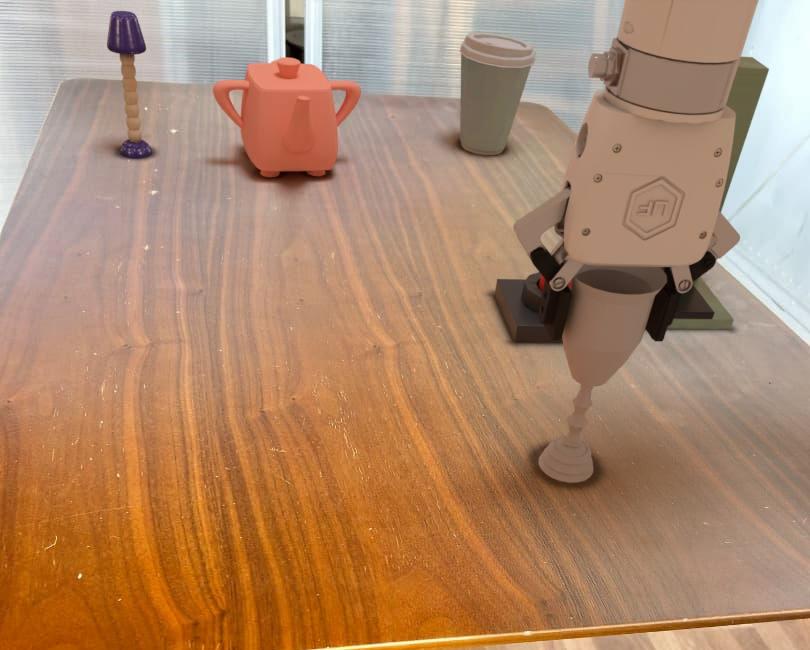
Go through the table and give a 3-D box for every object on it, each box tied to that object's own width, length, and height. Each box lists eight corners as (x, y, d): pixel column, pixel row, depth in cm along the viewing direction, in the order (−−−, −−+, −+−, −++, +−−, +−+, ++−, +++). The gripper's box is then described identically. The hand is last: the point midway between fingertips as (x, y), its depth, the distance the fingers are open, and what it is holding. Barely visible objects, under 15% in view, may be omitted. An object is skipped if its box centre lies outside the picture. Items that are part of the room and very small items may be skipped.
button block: (580, 298, 99) (588, 264, 96) (606, 345, 91) (616, 310, 89) (493, 297, 97) (499, 263, 94) (513, 344, 90) (520, 309, 87)
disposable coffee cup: (465, 131, 136) (479, 21, 125) (530, 148, 133) (550, 37, 122) (436, 151, 128) (448, 36, 118) (504, 169, 125) (523, 53, 115)
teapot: (272, 137, 127) (270, 35, 118) (368, 163, 123) (374, 59, 114) (202, 172, 116) (194, 62, 107) (306, 202, 111) (306, 90, 102)
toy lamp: (127, 146, 120) (109, 6, 108) (161, 150, 120) (147, 10, 108) (115, 158, 116) (96, 15, 105) (150, 162, 116) (135, 20, 105)
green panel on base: (683, 271, 106) (752, 56, 90) (729, 331, 96) (816, 102, 80) (572, 269, 104) (623, 48, 88) (607, 330, 94) (672, 94, 78)
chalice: (585, 439, 79) (639, 247, 67) (621, 486, 74) (685, 290, 62) (510, 448, 77) (551, 253, 65) (542, 498, 72) (593, 298, 60)
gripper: (549, 91, 51) (500, 358, 63) (826, 105, 53) (727, 359, 65) (520, 53, 56) (480, 306, 68) (772, 68, 59) (691, 308, 71)
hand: (601, 330), depth 67 cm, fingers closed on chalice, 7 cm apart
